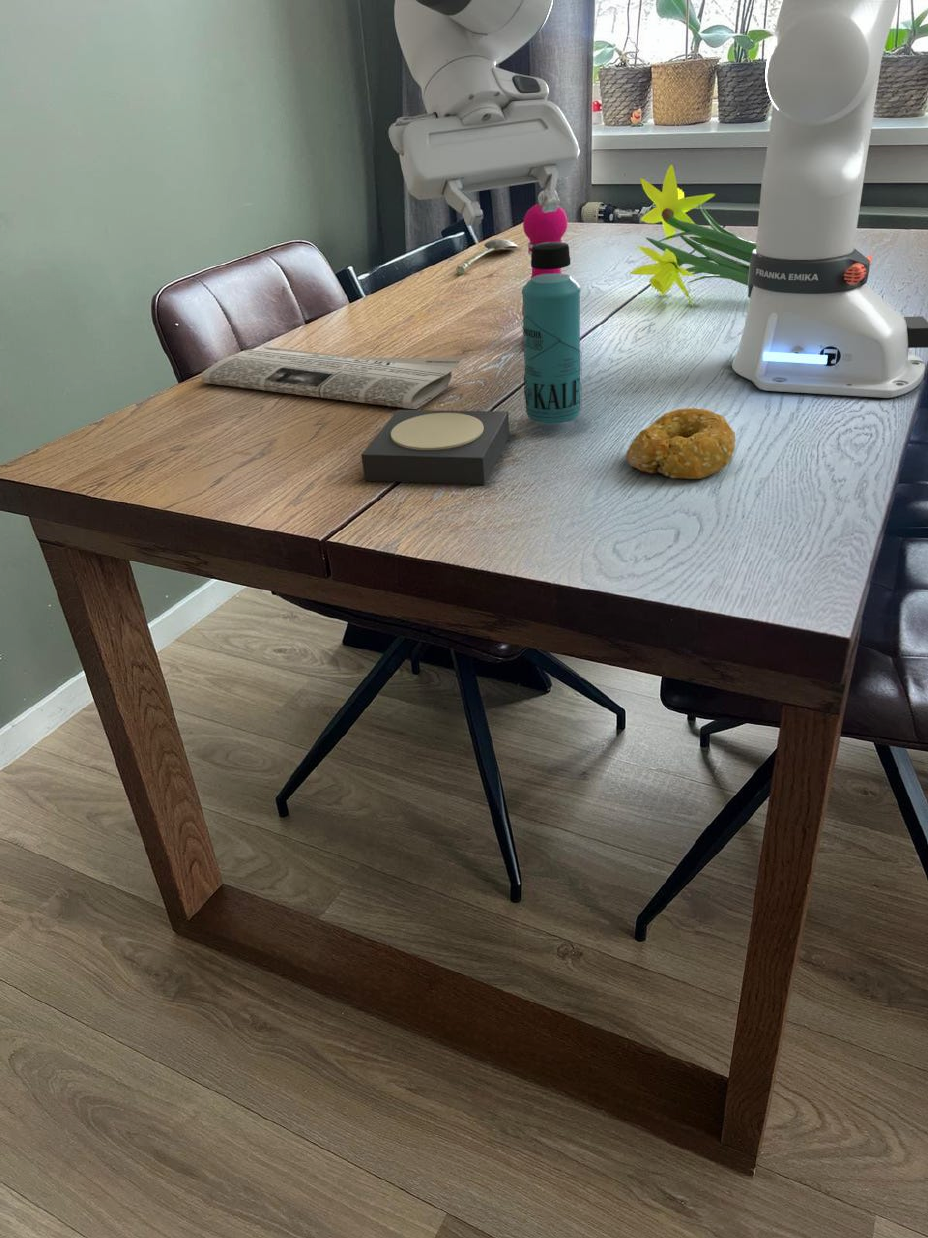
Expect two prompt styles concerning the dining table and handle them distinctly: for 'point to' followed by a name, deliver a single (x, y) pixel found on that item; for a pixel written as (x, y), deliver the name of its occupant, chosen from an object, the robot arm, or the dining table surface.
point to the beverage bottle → (551, 338)
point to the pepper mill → (544, 231)
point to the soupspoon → (491, 247)
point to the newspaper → (336, 376)
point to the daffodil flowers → (689, 241)
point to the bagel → (684, 444)
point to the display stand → (437, 447)
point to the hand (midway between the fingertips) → (514, 214)
